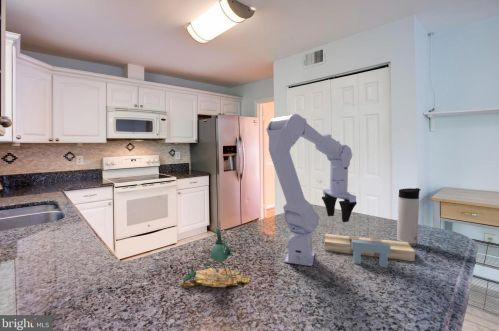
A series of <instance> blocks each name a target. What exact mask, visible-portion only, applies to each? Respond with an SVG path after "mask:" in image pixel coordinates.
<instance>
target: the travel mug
mask: <svg viewBox="0 0 499 331" xmlns="http://www.w3.org/2000/svg"><path fill="white" fill-rule="evenodd" d="M420 191H422V190H421V188H418V187H415V188H411V187H409V188H400V189H398V198H397V199H398V201H397V223H396V225H397V226H396V241H400V242H408V244H409V245H410V246H411V247H416V246H418V238H419V236H418V235H419V233H418V232H419V216H420V215H419V211H420Z"/></svg>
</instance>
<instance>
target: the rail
mask: <svg viewBox="0 0 499 331" xmlns="http://www.w3.org/2000/svg"><path fill="white" fill-rule="evenodd" d="M352 239H354V240H364V241H373V242H383V243H389V244H390V254H388V259H392V260H402V261H410V262H415V259H416V258H415V257H416V251H415V250H414V249H413V246H410V245H409V244H408V242H400V241H397V240H390V239H389V240H388V239H380V238H379V239H378V238H369V237H368V238H367V237H360V236H359V237H357V236H349V235H339V234H330V233H325V236H324V251H328V252H336V253H342V254H353V255H354V250H352ZM361 255H362V256H367V257H374V258H375V257H377V258H379V253H374V252H366V251H361Z"/></svg>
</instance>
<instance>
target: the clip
mask: <svg viewBox="0 0 499 331" xmlns="http://www.w3.org/2000/svg"><path fill="white" fill-rule="evenodd" d="M352 250H354V254H353V264H355V265H357V264H358V265H361V264H362V261H361V260H362V256H361V251H366V252H374V253H379V257H378V265H379V267H380V268H386V269H387V268H388V259H389V258H388V254H390V244H389V243H383V242H373V241H364V240H354V239H352Z"/></svg>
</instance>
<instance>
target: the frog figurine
mask: <svg viewBox="0 0 499 331" xmlns="http://www.w3.org/2000/svg"><path fill="white" fill-rule="evenodd" d="M215 229H216V230H215V231H216V236H217V239H216V240H215V242H214V244H213V245H212V246H211V248H210V256H208V257H207V258H202V259H200V260H199V263H201V262H202V261H203V260H204V261H206V264H205V265H204V267H205V268H204V269H203V270H201V269H199V270H196V269H195V268H194V267H193V265H191V266H190V269H191V270H187V273H186V275H184V277H183V279H182V281H181V282H180V283H179V285H180V286H181V287H184V288H186V287H193V286H198V285H202V286H206V287H212V288H226V287H229V286H238V285H239V284H240V283H244V284H249V283H251V281H250V280H251V278H249V277H247V276H245V275H243V274H242V273H241V272H240V271H236V270H233V269H231V268H230V267H229V265H228V264H226V263H224V262H225V261H226V260H227V259H228V258H229V257H230V256H233V252H235V253H236V252H237V249H235V248H234V249H233V250H232V249H231V247H229V245H228V244H227V243H228V241H227V240H226V236H224V238H223V239H222V234H221V228H218V227H217V228H215ZM211 258H212V261H210V260H209V259H211ZM215 262H216V263H215ZM218 263H220V264H221V265H222V266H223V268H222V269H221V268H220V269H217V268H216V265H217V264H218ZM208 264H209V265H210V264H211V265H212V266H213V268H211V267H210V268H209V267H208ZM226 267H227V268H226ZM238 283H239V284H238Z"/></svg>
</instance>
